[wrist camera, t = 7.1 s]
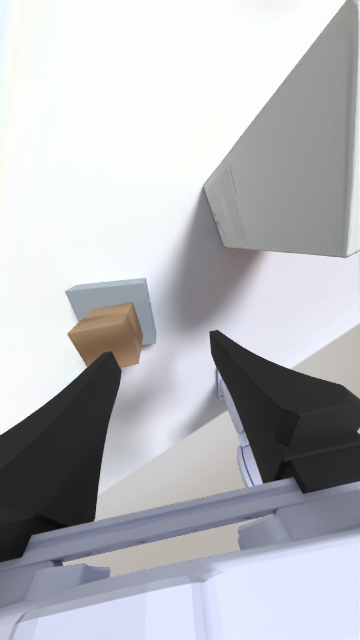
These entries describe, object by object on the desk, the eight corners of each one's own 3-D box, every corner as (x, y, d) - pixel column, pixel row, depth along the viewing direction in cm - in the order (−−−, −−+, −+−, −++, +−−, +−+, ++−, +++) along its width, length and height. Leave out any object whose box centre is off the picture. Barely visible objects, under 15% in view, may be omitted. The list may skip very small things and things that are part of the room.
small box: (223, 248, 17) (343, 263, 6) (201, 184, 14) (354, -29, 3) (290, 209, 16) (598, 135, 5) (282, 131, 13) (1007, -521, 2)
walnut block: (143, 335, 19) (138, 363, 14) (107, 342, 19) (91, 373, 14) (132, 301, 17) (122, 323, 12) (92, 309, 16) (67, 334, 12)
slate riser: (156, 331, 22) (155, 343, 20) (101, 338, 22) (92, 351, 19) (146, 277, 18) (143, 283, 16) (79, 283, 18) (64, 291, 15)
